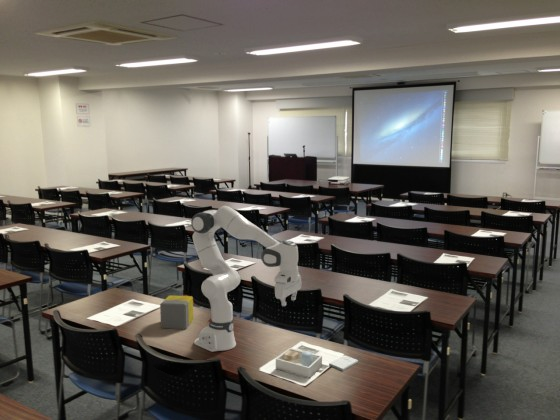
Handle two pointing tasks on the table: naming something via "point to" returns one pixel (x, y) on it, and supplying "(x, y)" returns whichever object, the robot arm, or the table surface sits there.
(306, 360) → the pale blue cylinder
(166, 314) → the grey-faced yellow box
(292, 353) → the maple cube
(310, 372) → the tote
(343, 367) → the external hard drive
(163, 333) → the table surface
